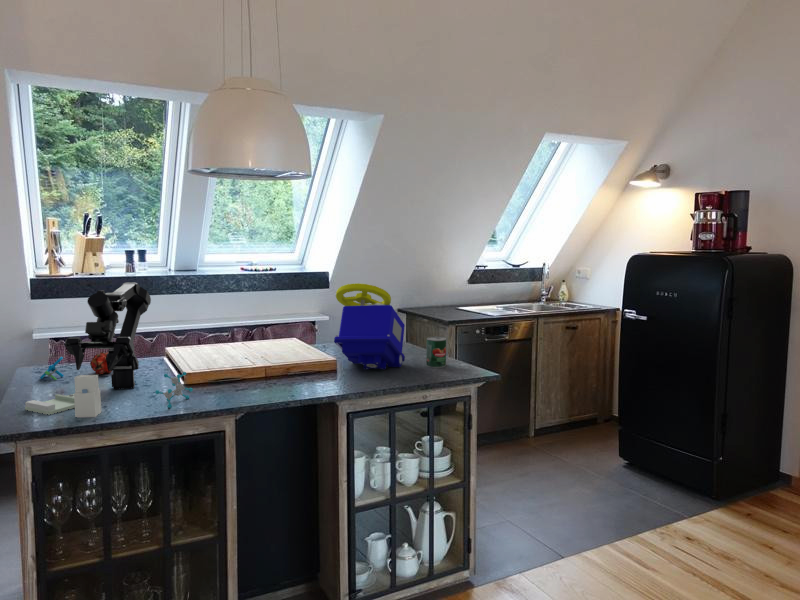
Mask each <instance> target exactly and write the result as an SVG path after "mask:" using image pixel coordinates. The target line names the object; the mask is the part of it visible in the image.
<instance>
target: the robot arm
mask: <svg viewBox="0 0 800 600" xmlns="http://www.w3.org/2000/svg"><path fill="white" fill-rule="evenodd" d="M86 301H87V304H88V307H89V308H90V310H91V312H92V314H93V316H94V317H96V318H97V319H96V321H87V322H85V323H86V324H85V331H84V333H85V334H87V338H88V340H90V341H83V339H82V338H81V337H67V338H66V339H65V342H64V346H65V348H66V349H67V352H68V353H69V354H70V355H72V356H73V357H74V361H75V368H76V371H79V370H80V369H81V366H82V364H83V361H84V358H85V352H86V349H101V350H104V349H108V350H107V352H106V353H107V355H106V363H107V367H108V371H112V373H111V375H110V377H111V387H112V390H113V391H114V390H128V389H129V390H130V389H134V388H135V386H136V382H135V371H137V370H139V365H140V364H139V360H138V358H137V356H136V353H135V345H134V341H135V337H136V333H137V330H138V325H139V324H140V318H141V316H142V315H143V314H144V313H146V312H147V311H148V308H149V306H150V305H151V303H152V302H151V301H152V298H151V296H150V293H149V292H148V290H147V289H145V288H143V287H142V286H140V284H139V283H137V282H124V283H122V285H121V286H120V287H119V288H117V289H115V290H114V291H113V292H105V290H103V289H102V290H97V291H96V292H95V293H93V294H92V295H90V296H89V297H88V298H87V300H86ZM125 309H126V312H125V316H124V320H123V323H122V326H121V329H120V332H119V335H118V336H117V337H116V333H115V331H116V327H117V324H119V323H120V321H119V314H118V312H123V311H124V310H125ZM115 337H116V338H115ZM113 338H115V341H113V340H114V339H113Z"/></svg>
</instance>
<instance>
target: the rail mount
mask: <svg viewBox="0 0 800 600" xmlns="http://www.w3.org/2000/svg"><path fill="white" fill-rule="evenodd" d="M24 403H25V407H24V410H25V411H27V410H28V412H32V411H33V412H32V413H37V412H38V414H42V413H43V415H47V414H48V416H51V415H54V413H55V414H57V412H58V413H61V411H62V412H65V411H68V409H69V410H71V409H75V403H74V393H73V394H72V393H71V394H69V395H64V394H54V398H53V399H50V400H46V401H40V400H34V399H32V400H28V401H25V402H24ZM50 414H51V415H50Z"/></svg>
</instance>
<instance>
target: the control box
mask: <svg viewBox="0 0 800 600" xmlns="http://www.w3.org/2000/svg"><path fill="white" fill-rule="evenodd" d="M351 292H358V293H356V294H355V295H354V296H353V295H352V296H344V295H345V294H346V293H351ZM371 294H373V295H376V296H378V297H380V298H381V299H382V301H379V300H376V299H373V298H372V295H371ZM335 298H336V300H337V302H339V303H340V305H342V306H343V307H342V312H341V319H340V325H339V331H338V334H337V335H335V336H334V339H333V342H334V344H335V345H336V346H337V347H338V348H339V349H340V350H341V353H342V354H343V355H344V356H345V357H346V358H347V361H348V362H350V363H352V364H355V365H357V364H360V365H363V370H370V369H378V370H383V371H386V368H387V367H388V368H401V367H402V366H403V362H405V358H406V357H405V354H404V352H403V347H404V345H403V344H404V335H405V327H406V326H405V323H404V322H403V320H402V319H401V317H400V316H399V314H398V313H397V312H396V310H395V309H394V307H393V306H392V305H391V303H392V296H391V295H390V294H389V292H388V291H387V290H384V288H381V287H379V286H376V285H373V284H367V283H360V282H358V283H347V284H344V285H341V286H339V287H338V288H337V290H336V291H335Z"/></svg>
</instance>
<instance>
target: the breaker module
mask: <svg viewBox="0 0 800 600" xmlns="http://www.w3.org/2000/svg"><path fill="white" fill-rule="evenodd" d="M99 385H100V384H99V375H96V374H84V375H83V374H82V375H81V374H80V375H76V376H74V389H75V391H74V393H73V394H74V403H75V408H74V414H75V415H74V416H75V417H77V418H96V417H98V416H99V415H100V414H101V413H102V401H101V400H102V398H101V396H102V395H101V388H99ZM98 414H99V415H98Z"/></svg>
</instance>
